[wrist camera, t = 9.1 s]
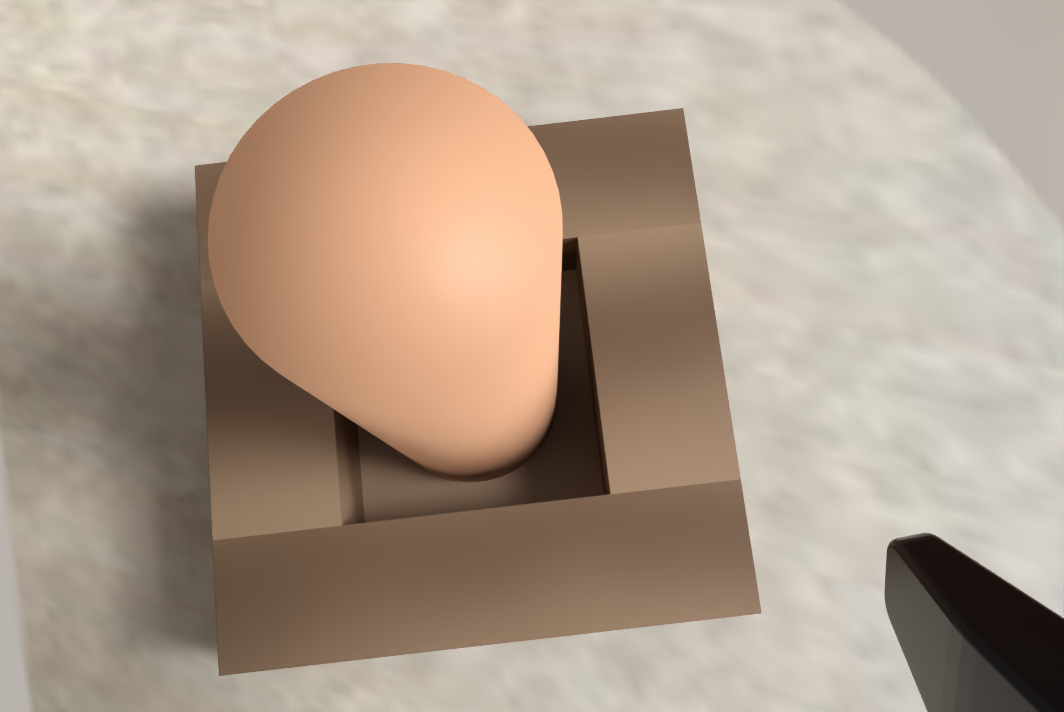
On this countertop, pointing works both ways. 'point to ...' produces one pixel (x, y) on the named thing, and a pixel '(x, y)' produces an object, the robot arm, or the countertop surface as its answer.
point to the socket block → (516, 498)
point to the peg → (400, 262)
